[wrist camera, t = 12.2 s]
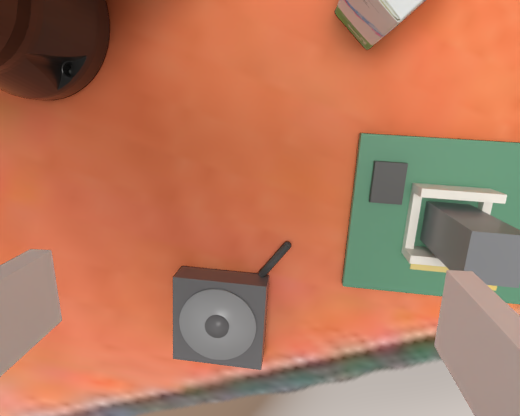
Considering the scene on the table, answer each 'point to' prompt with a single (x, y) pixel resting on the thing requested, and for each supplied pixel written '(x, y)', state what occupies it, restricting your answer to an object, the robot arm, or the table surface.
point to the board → (421, 205)
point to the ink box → (373, 17)
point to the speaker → (219, 316)
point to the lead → (274, 259)
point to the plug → (473, 242)
